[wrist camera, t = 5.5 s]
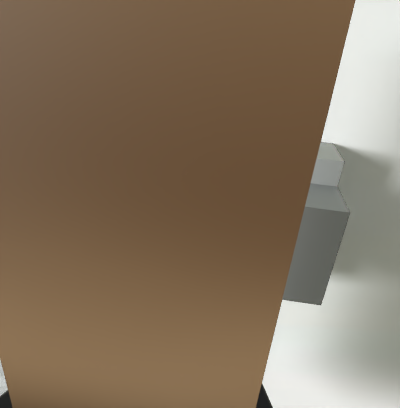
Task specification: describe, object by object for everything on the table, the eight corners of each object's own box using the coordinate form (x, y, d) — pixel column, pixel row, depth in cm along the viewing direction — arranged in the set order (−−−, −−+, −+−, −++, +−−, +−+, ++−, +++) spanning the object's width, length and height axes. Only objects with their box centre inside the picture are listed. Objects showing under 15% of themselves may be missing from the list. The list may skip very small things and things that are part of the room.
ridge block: (302, 262, 18) (314, 324, 14) (100, 234, 19) (65, 287, 15) (333, 143, 15) (358, 184, 12) (94, 115, 16) (49, 146, 12)
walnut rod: (208, 490, 14) (194, 660, 10) (115, 473, 14) (68, 633, 10) (300, -20, 6) (370, -63, 2) (91, -38, 6) (-114, -99, 3)
